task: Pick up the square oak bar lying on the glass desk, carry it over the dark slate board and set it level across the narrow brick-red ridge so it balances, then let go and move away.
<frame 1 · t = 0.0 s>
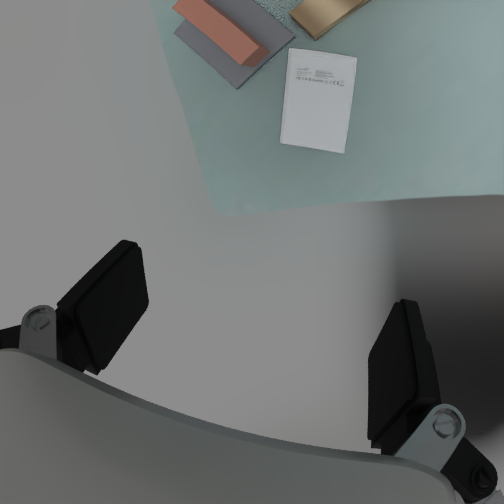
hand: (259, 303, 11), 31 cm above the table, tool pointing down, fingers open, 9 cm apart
fulcrum board: (232, 32, 31), on the table
external hard drive: (318, 99, 34), on the table
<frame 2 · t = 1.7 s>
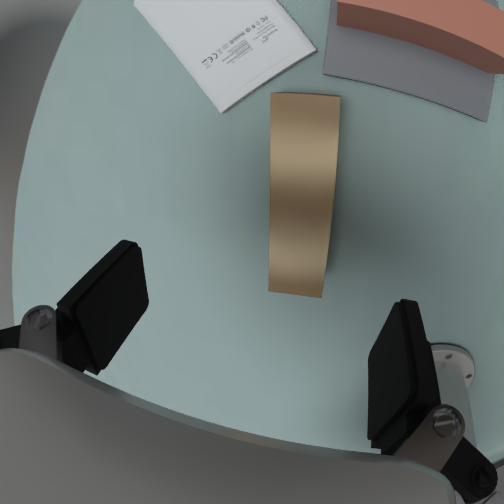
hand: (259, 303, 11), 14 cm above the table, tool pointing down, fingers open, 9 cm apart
fulcrum board: (417, 29, 14), on the table
external hard drive: (222, 21, 18), on the table
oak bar: (306, 186, 23), on the table
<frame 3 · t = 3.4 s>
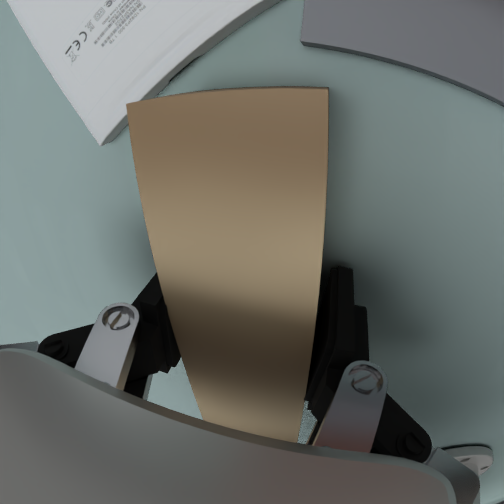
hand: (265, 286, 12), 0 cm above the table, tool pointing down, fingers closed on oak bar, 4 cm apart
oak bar: (267, 279, 12), on the table, touching gripper
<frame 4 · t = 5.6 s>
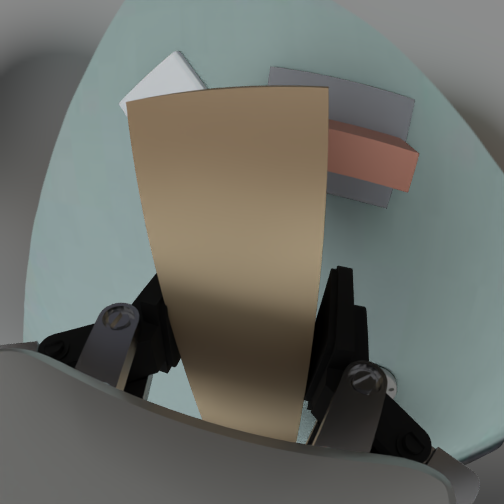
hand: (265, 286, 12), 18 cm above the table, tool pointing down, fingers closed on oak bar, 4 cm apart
fulcrum board: (333, 135, 24), on the table
external hard drive: (186, 124, 28), on the table
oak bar: (267, 278, 12), point 17 cm above the table, touching gripper
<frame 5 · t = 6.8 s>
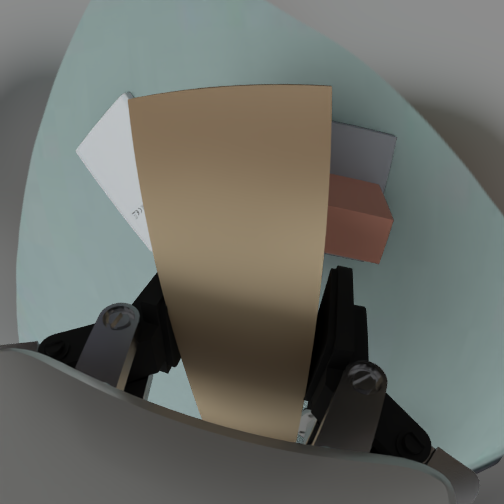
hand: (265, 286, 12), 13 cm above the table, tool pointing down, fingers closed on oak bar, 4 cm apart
fulcrum board: (301, 182, 23), on the table
external hard drive: (144, 171, 26), on the table
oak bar: (267, 278, 12), point 13 cm above the table, touching gripper
when the fingers open (8 cm above the table, at t = 7.9 s): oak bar stays where it is, resting on fulcrum board.
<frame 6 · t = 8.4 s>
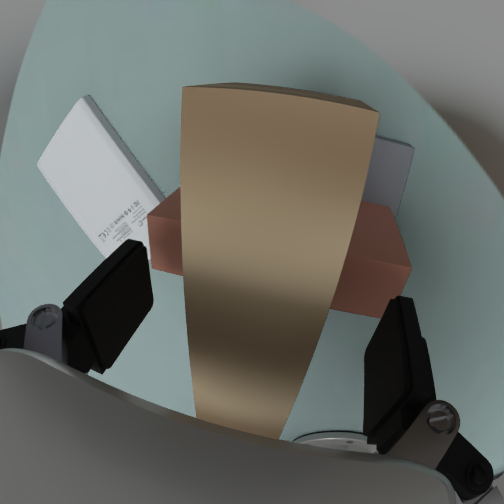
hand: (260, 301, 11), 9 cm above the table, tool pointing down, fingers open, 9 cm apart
fulcrum board: (292, 203, 18), on the table
external hard drive: (110, 187, 22), on the table
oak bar: (272, 270, 13), point 7 cm above the table, touching fulcrum board
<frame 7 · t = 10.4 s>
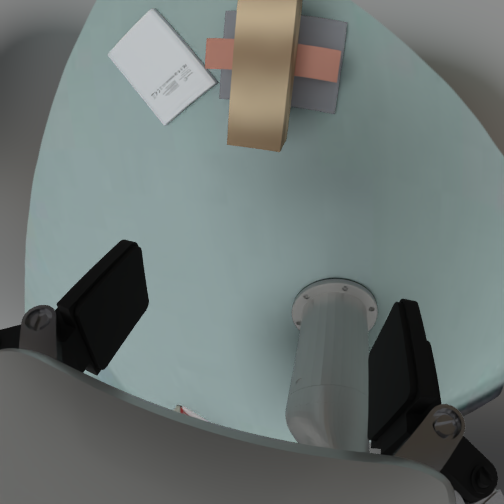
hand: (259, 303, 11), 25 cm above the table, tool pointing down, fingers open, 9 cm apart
fulcrum board: (282, 58, 27), on the table
external hard drive: (163, 65, 30), on the table
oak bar: (271, 57, 21), point 7 cm above the table, touching fulcrum board
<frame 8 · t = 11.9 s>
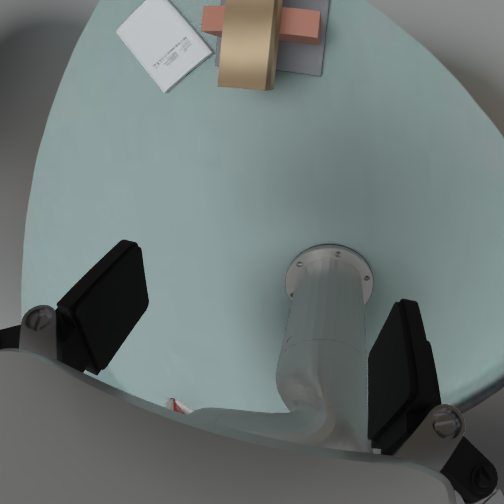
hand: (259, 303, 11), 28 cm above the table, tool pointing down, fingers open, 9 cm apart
fulcrum board: (271, 29, 28), on the table
external hard drive: (165, 40, 31), on the table
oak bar: (259, 19, 22), point 7 cm above the table, touching fulcrum board
cigarette display: (196, 416, 78), on the table
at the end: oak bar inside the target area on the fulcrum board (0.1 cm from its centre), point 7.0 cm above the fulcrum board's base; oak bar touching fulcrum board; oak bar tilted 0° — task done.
